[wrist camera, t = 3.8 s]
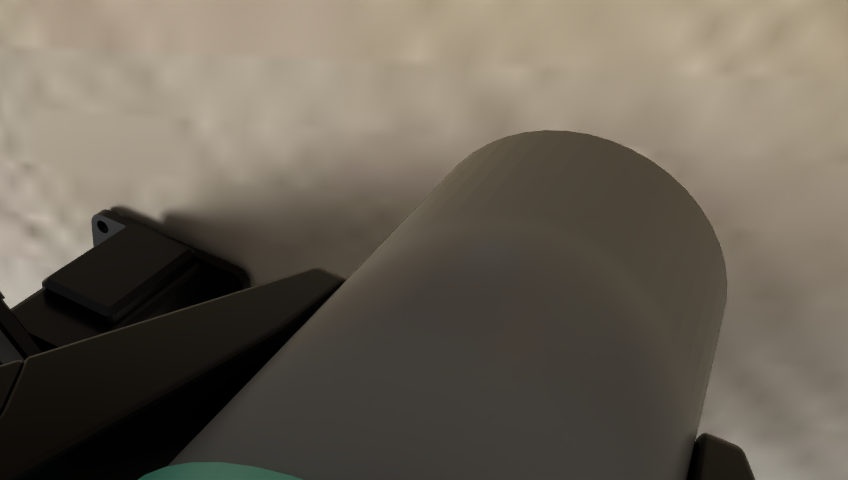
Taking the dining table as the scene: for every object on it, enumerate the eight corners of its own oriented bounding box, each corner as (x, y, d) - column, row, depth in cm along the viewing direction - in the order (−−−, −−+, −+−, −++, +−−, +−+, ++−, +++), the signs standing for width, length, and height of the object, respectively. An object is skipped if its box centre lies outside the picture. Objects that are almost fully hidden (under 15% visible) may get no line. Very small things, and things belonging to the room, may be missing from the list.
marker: (666, 449, 11) (493, 1113, 6) (398, 331, 12) (34, 793, 7) (796, 196, 9) (711, 914, 3) (448, 76, 10) (-50, 469, 4)
